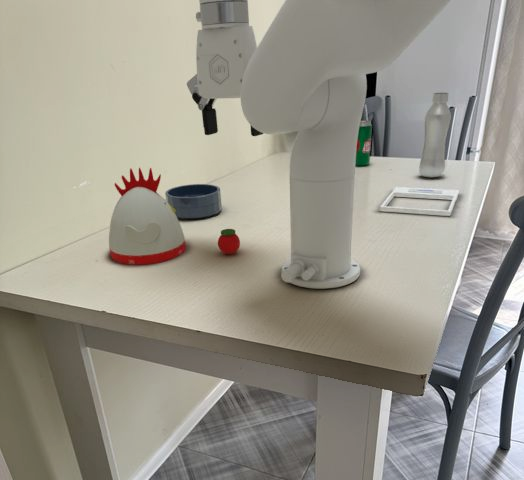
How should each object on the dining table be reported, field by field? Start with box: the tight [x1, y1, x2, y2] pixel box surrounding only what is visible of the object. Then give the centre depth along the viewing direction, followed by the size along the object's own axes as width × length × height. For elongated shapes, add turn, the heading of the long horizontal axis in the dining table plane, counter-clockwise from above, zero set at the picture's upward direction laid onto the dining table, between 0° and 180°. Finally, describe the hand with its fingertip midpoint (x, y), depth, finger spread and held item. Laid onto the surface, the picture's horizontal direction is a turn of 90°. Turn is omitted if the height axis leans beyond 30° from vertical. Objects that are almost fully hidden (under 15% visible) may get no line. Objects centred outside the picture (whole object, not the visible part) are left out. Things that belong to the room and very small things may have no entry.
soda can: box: [355, 119, 373, 167], centre depth 150 cm, size 5×5×12 cm
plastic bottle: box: [418, 92, 452, 179], centre depth 131 cm, size 6×7×20 cm
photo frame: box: [379, 186, 460, 217], centre depth 115 cm, size 15×1×18 cm
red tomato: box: [217, 228, 241, 255], centre depth 92 cm, size 4×4×4 cm
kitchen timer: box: [108, 166, 187, 266], centre depth 92 cm, size 14×14×15 cm
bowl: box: [164, 183, 223, 220], centre depth 115 cm, size 12×12×5 cm
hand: (234, 134), depth 89 cm, fingers open, 9 cm apart
